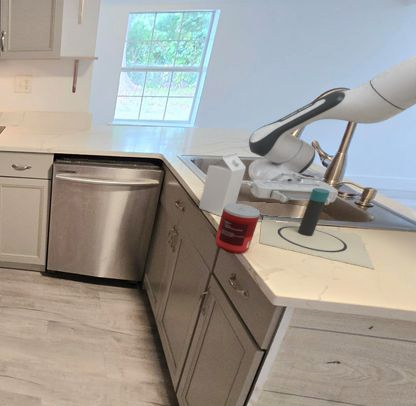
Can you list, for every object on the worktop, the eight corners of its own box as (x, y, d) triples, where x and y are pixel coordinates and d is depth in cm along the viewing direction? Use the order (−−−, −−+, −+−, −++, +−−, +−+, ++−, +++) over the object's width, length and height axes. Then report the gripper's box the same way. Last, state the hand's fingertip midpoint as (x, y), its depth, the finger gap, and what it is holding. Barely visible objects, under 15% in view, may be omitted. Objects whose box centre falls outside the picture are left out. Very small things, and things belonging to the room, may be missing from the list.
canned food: (239, 240, 100) (250, 203, 96) (254, 255, 93) (267, 216, 89) (209, 238, 102) (218, 202, 97) (221, 253, 95) (232, 215, 90)
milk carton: (198, 208, 120) (211, 152, 112) (211, 204, 123) (225, 149, 115) (220, 216, 114) (235, 158, 106) (233, 211, 117) (249, 154, 109)
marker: (312, 232, 102) (329, 189, 97) (313, 237, 100) (330, 193, 94) (297, 229, 104) (312, 187, 99) (297, 234, 102) (313, 191, 96)
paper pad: (360, 235, 101) (360, 234, 100) (374, 269, 86) (374, 267, 86) (261, 216, 113) (262, 215, 113) (259, 243, 98) (259, 242, 98)
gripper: (246, 172, 116) (266, 188, 103) (323, 176, 111) (353, 193, 99) (241, 191, 118) (260, 208, 106) (315, 195, 113) (345, 214, 101)
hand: (306, 201), depth 102 cm, fingers open, 8 cm apart
